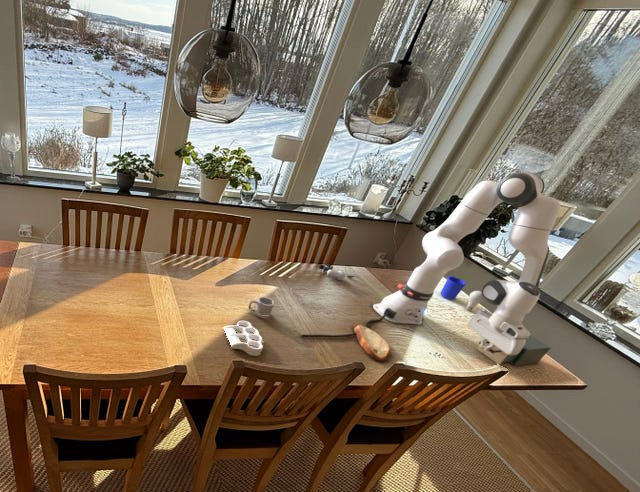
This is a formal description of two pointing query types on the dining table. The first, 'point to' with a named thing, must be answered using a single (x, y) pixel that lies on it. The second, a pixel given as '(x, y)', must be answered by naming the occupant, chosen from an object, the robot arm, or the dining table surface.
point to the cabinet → (531, 352)
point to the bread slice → (372, 343)
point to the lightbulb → (474, 299)
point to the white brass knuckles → (244, 337)
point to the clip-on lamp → (333, 272)
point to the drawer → (498, 354)
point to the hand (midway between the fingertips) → (483, 348)
